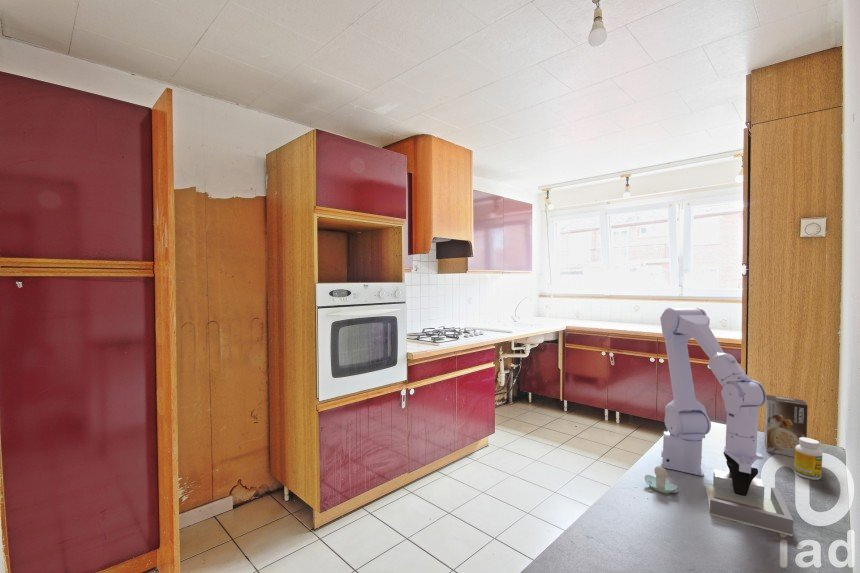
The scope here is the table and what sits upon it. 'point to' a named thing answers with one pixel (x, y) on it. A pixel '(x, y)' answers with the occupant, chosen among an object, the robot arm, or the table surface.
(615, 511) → the table surface
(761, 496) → the aluminium bar
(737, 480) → the robot arm
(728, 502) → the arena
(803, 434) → the coffee box
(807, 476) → the supplement bottle
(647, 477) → the pacifier
